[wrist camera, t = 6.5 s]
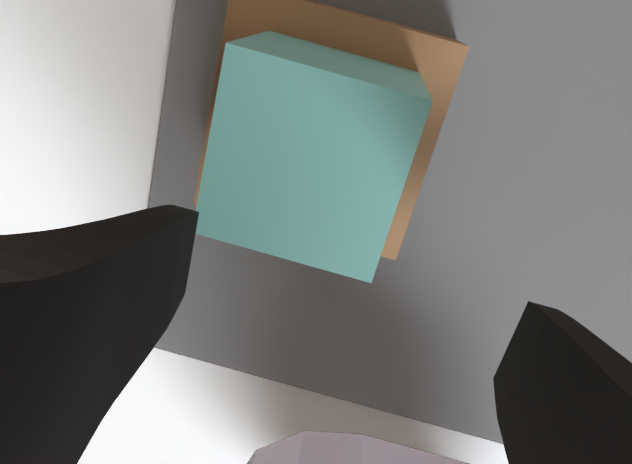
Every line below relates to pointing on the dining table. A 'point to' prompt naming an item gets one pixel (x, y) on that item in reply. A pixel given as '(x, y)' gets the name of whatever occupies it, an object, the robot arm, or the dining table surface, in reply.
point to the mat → (434, 217)
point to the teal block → (309, 152)
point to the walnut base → (368, 41)
